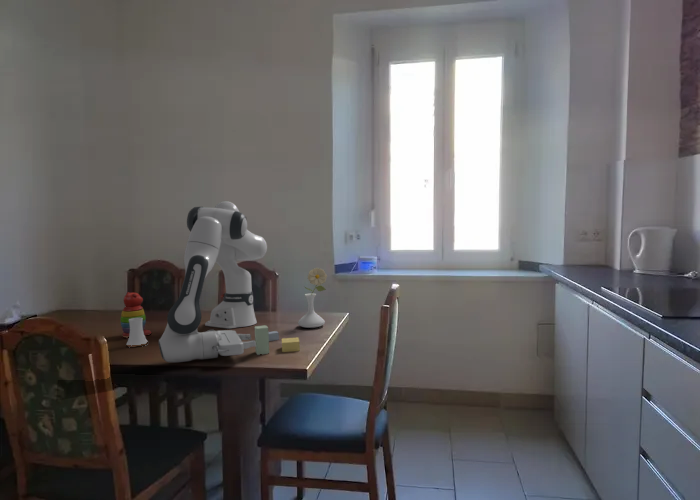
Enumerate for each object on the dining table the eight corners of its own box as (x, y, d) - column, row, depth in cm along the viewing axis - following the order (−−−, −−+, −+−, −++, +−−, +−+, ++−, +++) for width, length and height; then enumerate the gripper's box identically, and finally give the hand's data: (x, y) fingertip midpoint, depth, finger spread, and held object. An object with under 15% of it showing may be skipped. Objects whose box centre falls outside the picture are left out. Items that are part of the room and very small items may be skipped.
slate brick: (263, 342, 184) (263, 334, 184) (261, 340, 186) (260, 333, 186) (278, 340, 187) (278, 332, 186) (276, 338, 189) (275, 330, 189)
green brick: (257, 355, 167) (256, 328, 166) (255, 352, 170) (254, 326, 170) (269, 353, 168) (268, 327, 168) (266, 350, 172) (265, 325, 171)
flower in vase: (295, 329, 202) (292, 269, 200) (301, 323, 213) (299, 266, 211) (326, 330, 200) (324, 269, 198) (331, 323, 211) (329, 266, 210)
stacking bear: (153, 335, 200) (150, 291, 199) (128, 340, 192) (125, 295, 191) (141, 331, 207) (138, 289, 206) (116, 336, 200) (114, 292, 198)
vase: (149, 345, 183) (147, 319, 183) (127, 348, 180) (125, 321, 179) (146, 341, 190) (145, 315, 189) (125, 344, 186) (123, 318, 185)
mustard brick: (282, 352, 169) (282, 342, 169) (281, 348, 175) (281, 338, 175) (299, 351, 170) (299, 341, 170) (298, 346, 176) (298, 337, 176)
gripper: (213, 342, 153) (258, 337, 158) (208, 328, 172) (247, 324, 177) (214, 362, 154) (259, 356, 159) (209, 346, 173) (248, 341, 178)
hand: (253, 339), depth 168 cm, fingers open, 8 cm apart
